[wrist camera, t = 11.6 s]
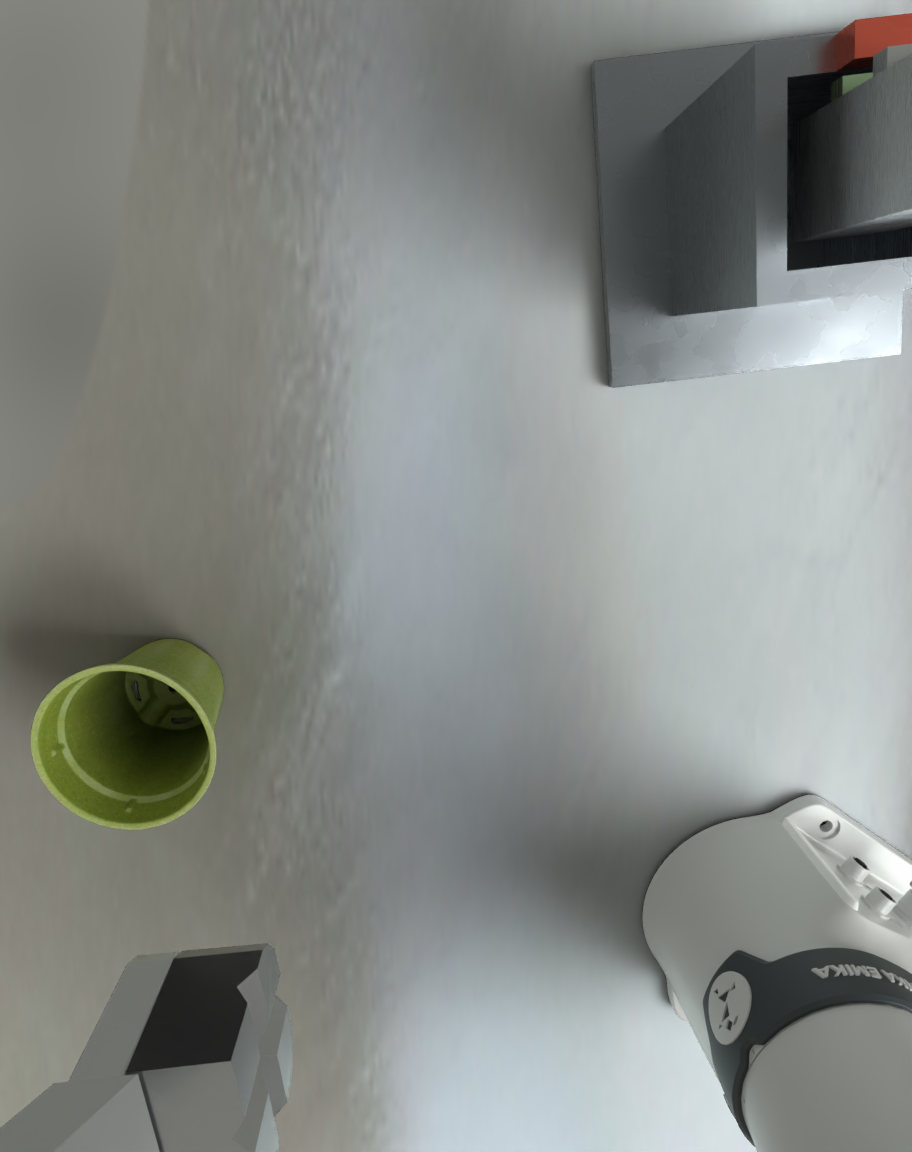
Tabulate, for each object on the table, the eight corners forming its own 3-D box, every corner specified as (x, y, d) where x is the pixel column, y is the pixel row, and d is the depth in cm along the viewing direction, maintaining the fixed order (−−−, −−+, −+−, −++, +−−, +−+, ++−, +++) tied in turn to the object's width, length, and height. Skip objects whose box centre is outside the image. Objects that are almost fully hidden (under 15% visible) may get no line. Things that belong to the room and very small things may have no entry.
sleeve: (902, 30, 41) (1140, -130, 27) (890, 354, 46) (1090, 358, 32) (590, 67, 41) (670, -73, 27) (609, 386, 46) (685, 405, 32)
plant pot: (78, 623, 49) (5, 681, 40) (232, 599, 49) (190, 652, 40) (120, 761, 51) (59, 842, 43) (266, 738, 51) (234, 815, 43)
